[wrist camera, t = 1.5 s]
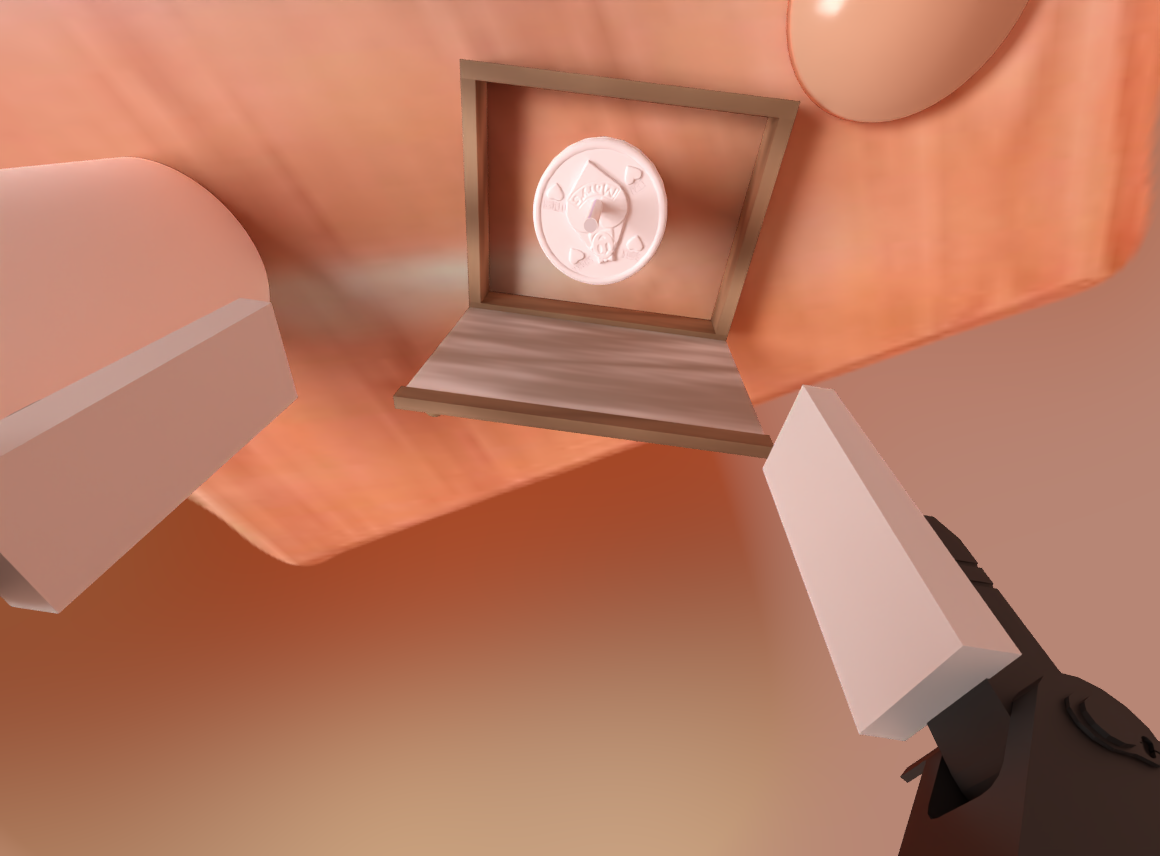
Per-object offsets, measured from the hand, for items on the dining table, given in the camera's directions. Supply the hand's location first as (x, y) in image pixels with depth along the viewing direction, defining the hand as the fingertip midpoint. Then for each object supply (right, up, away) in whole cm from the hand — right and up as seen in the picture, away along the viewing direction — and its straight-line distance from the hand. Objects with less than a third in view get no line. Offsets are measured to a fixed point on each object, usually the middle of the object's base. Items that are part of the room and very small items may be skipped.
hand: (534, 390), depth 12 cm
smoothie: (+3, +14, +18) cm, 23 cm away
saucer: (+17, +21, +11) cm, 29 cm away
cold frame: (+3, +13, +18) cm, 23 cm away
